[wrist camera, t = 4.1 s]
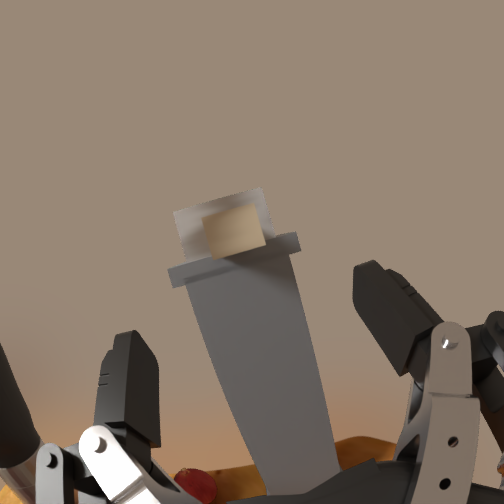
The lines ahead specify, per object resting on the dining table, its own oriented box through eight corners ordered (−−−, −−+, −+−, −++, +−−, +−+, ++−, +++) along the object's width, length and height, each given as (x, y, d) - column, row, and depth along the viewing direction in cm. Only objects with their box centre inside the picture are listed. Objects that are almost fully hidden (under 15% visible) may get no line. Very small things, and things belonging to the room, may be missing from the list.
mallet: (166, 274, 13) (144, 190, 12) (193, 259, 26) (181, 218, 26) (311, 231, 13) (287, 152, 13) (265, 238, 27) (253, 198, 26)
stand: (273, 516, 22) (167, 269, 20) (267, 486, 28) (180, 263, 26) (352, 492, 23) (296, 231, 21) (337, 465, 29) (281, 234, 27)
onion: (182, 515, 24) (155, 483, 23) (190, 488, 30) (167, 455, 29) (222, 515, 23) (198, 484, 23) (227, 487, 29) (207, 453, 29)
